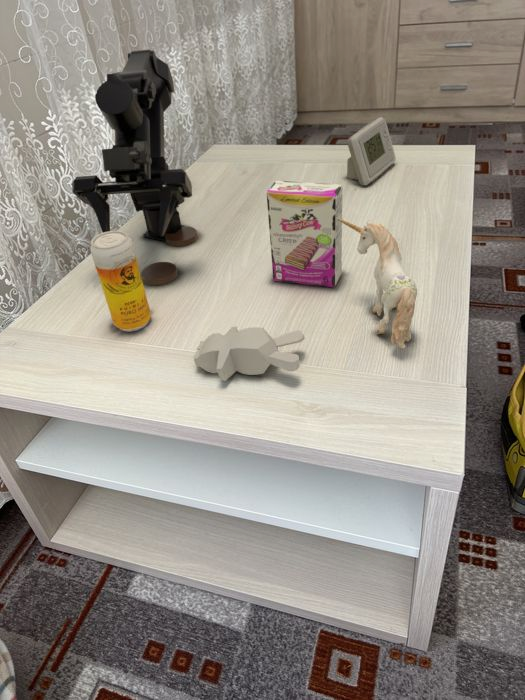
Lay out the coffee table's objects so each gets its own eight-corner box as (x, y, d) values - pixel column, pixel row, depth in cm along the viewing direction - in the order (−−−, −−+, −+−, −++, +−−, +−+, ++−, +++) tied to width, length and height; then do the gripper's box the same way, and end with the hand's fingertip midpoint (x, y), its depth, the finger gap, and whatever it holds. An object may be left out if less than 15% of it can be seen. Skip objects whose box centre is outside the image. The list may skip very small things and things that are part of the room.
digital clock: (364, 189, 122) (365, 140, 115) (332, 180, 127) (332, 133, 120) (407, 166, 130) (410, 119, 123) (375, 158, 135) (377, 113, 129)
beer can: (130, 338, 86) (104, 253, 76) (107, 325, 89) (79, 242, 80) (159, 319, 89) (138, 235, 80) (136, 307, 93) (113, 225, 83)
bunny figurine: (202, 321, 81) (302, 313, 77) (211, 348, 84) (308, 342, 80) (184, 362, 74) (294, 357, 70) (195, 390, 77) (300, 386, 73)
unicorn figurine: (375, 281, 92) (378, 207, 84) (442, 347, 78) (455, 264, 69) (336, 292, 91) (336, 217, 82) (397, 361, 76) (404, 278, 68)
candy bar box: (272, 282, 95) (264, 192, 85) (281, 268, 99) (274, 179, 88) (336, 289, 91) (335, 196, 81) (342, 274, 95) (343, 182, 85)
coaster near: (135, 281, 99) (133, 276, 98) (156, 264, 103) (155, 259, 103) (163, 288, 97) (162, 282, 96) (184, 270, 101) (183, 265, 100)
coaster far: (159, 243, 110) (158, 238, 109) (178, 229, 114) (176, 224, 113) (186, 248, 107) (184, 243, 107) (203, 234, 112) (202, 228, 111)
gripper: (56, 126, 85) (56, 225, 83) (176, 116, 83) (178, 216, 82) (85, 158, 96) (86, 246, 94) (191, 150, 94) (194, 239, 93)
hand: (134, 237), depth 90 cm, fingers open, 9 cm apart
